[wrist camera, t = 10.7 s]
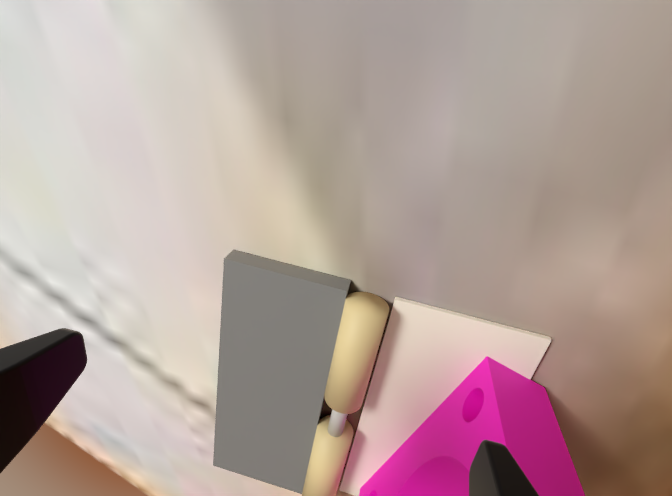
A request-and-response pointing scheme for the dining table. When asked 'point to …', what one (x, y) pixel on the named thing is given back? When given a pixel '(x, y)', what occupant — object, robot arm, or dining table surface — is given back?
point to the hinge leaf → (291, 371)
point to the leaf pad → (427, 376)
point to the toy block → (481, 439)
